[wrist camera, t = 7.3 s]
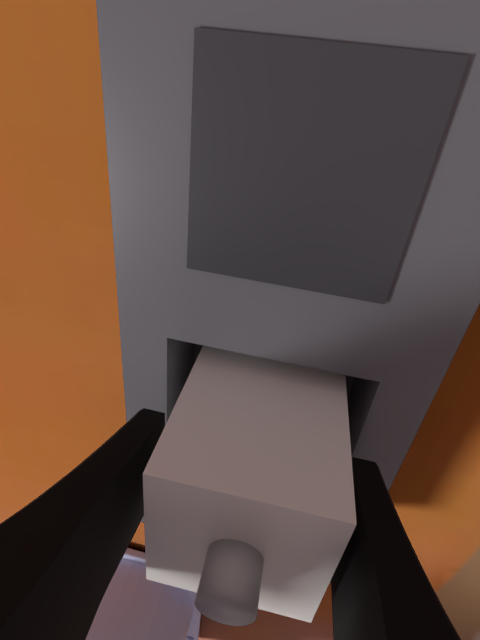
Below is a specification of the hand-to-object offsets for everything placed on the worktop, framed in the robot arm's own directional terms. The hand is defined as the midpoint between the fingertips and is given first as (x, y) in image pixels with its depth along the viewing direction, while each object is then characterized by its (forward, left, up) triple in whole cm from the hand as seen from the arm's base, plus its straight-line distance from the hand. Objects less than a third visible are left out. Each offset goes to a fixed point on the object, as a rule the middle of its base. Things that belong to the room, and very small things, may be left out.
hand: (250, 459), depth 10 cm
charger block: (0, 0, -3) cm, 4 cm away
